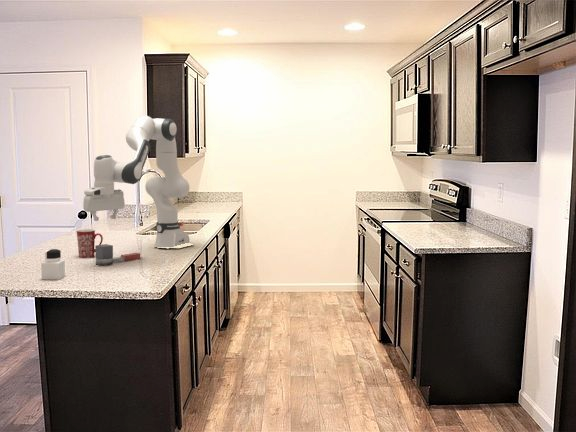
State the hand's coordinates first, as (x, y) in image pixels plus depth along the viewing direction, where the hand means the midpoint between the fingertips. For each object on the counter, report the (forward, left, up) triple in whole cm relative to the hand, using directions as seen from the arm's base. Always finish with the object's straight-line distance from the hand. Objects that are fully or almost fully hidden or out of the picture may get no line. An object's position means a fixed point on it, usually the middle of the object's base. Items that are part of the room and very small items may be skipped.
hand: (105, 219), depth 262 cm
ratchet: (-7, 0, -21) cm, 22 cm away
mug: (-5, -20, -21) cm, 30 cm away
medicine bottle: (+31, +9, -21) cm, 39 cm away
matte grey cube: (+1, 0, -18) cm, 18 cm away
